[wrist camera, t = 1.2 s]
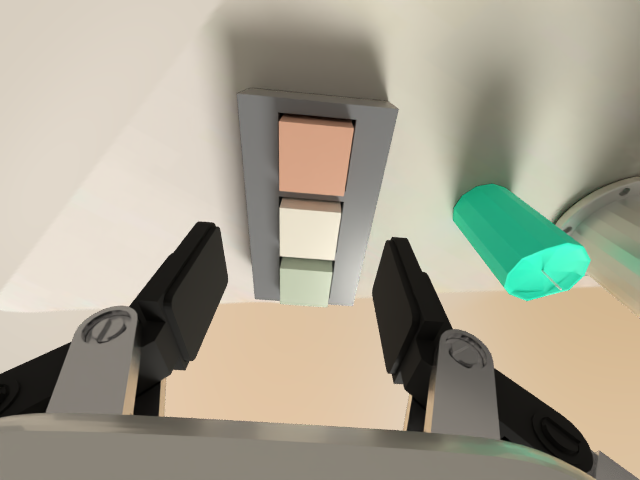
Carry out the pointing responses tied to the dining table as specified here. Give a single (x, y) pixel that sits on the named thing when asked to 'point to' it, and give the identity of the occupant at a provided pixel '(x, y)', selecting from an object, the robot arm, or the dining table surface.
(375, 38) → the dining table surface
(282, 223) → the key cream
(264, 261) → the keypad
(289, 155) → the key terracotta
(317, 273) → the key sage
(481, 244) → the candle
